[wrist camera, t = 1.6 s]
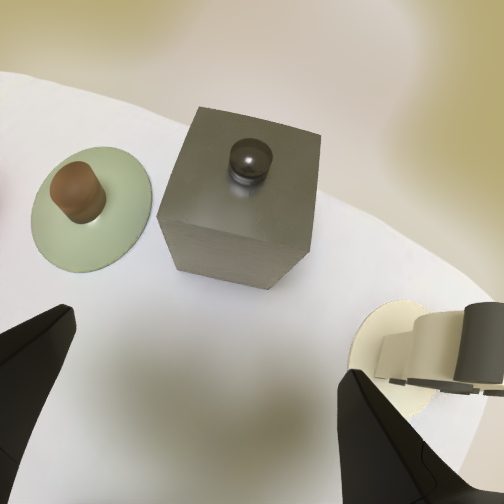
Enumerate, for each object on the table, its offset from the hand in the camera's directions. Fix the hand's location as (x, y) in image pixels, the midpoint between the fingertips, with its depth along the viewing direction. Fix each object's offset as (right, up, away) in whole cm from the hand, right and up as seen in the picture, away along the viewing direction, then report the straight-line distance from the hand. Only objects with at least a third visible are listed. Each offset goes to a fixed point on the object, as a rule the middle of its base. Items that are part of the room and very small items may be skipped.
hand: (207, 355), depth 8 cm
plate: (-13, +7, +15) cm, 21 cm away
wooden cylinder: (-13, +7, +14) cm, 20 cm away
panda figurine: (+14, -7, +15) cm, 22 cm away
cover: (0, +4, +16) cm, 16 cm away
